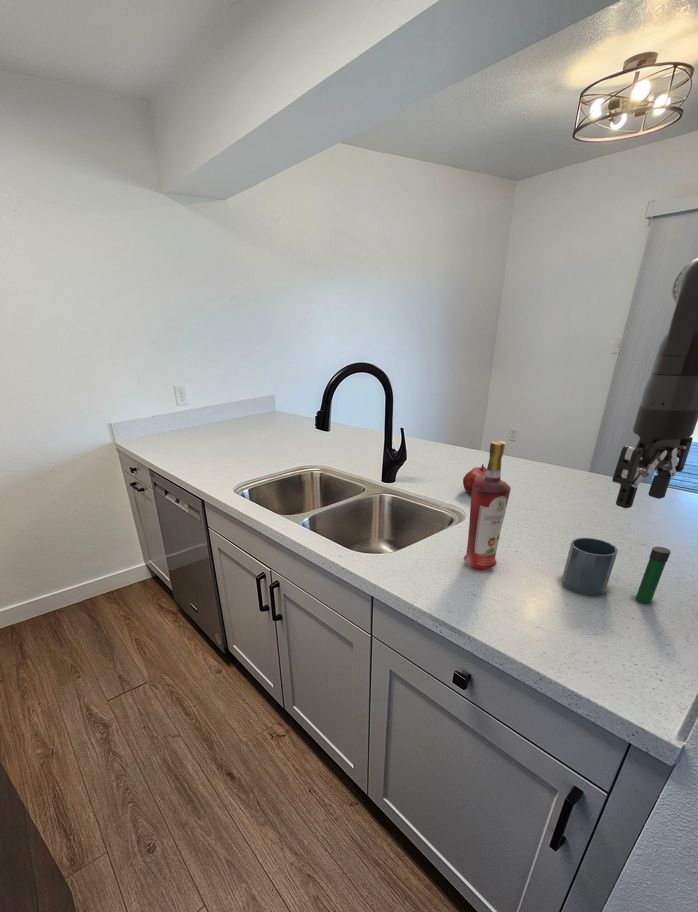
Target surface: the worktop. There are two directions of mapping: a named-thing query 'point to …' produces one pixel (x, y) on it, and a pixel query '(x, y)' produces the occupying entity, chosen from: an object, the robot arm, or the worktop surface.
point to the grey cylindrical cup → (589, 566)
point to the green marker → (652, 574)
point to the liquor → (487, 512)
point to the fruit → (473, 477)
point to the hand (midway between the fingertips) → (639, 501)
